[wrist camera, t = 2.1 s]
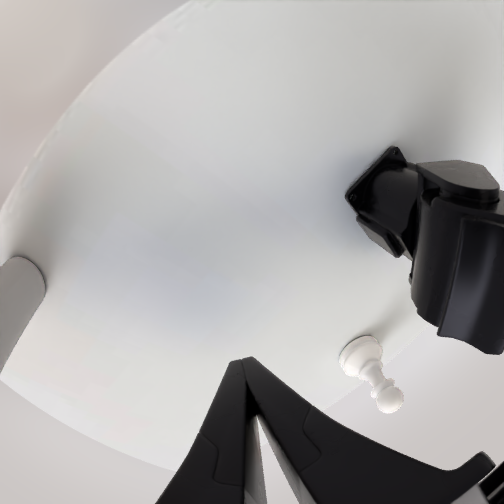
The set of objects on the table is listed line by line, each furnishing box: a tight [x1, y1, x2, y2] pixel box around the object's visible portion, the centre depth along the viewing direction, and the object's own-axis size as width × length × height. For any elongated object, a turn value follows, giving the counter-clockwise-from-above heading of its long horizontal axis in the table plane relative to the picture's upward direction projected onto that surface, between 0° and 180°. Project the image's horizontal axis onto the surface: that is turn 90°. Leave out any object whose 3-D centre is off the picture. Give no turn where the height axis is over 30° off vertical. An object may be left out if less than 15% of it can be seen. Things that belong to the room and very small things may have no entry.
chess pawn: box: [339, 336, 404, 413], centre depth 26 cm, size 5×5×9 cm
